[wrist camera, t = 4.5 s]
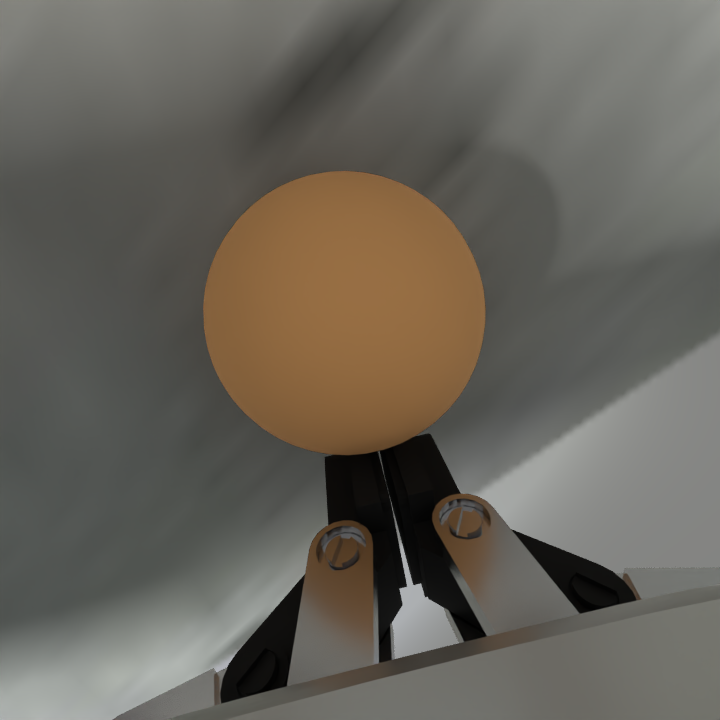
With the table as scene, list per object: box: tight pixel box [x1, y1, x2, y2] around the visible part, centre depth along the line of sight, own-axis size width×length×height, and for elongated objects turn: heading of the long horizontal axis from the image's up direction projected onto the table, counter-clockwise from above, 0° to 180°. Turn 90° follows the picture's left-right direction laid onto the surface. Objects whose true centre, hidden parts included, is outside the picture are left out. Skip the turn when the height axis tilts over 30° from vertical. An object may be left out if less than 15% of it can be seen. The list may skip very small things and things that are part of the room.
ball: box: [203, 171, 486, 455], centre depth 9 cm, size 6×6×6 cm
